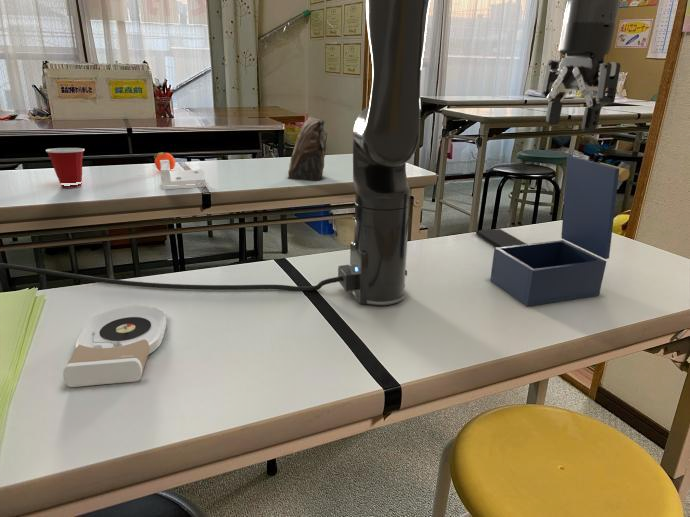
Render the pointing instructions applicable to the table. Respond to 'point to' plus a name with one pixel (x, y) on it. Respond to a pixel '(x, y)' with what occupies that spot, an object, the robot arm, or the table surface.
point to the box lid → (590, 204)
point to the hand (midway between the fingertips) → (569, 127)
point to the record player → (115, 346)
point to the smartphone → (499, 238)
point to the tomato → (164, 157)
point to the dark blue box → (547, 272)
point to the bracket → (180, 177)
